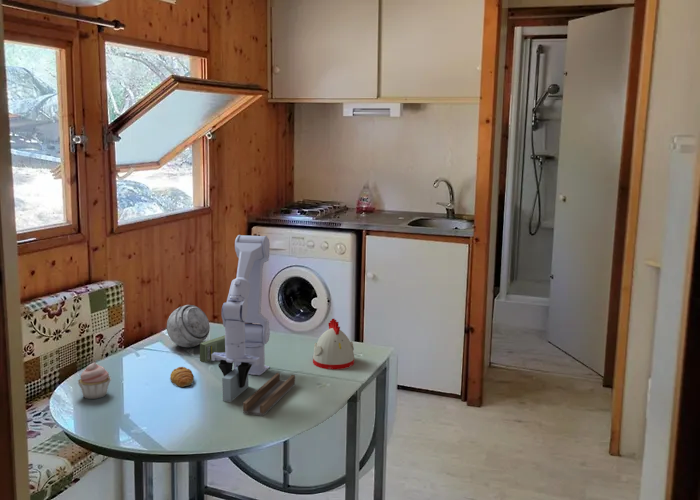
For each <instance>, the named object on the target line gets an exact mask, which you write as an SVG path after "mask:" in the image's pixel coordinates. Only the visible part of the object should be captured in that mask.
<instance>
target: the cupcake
mask: <svg viewBox="0 0 700 500" xmlns="http://www.w3.org/2000/svg"><path fill="white" fill-rule="evenodd" d="M111 381H112V378H111V375H110V374H109V372H108V371H107V369H105V367H103V366H102V365H99V364H97V363H96V362H92V363H90V364H88V365H87V366H86V368H85V369H84V370H83V371H82V372H81V374H80V379H78V380H77V384H78V386H79V387H80V390H81V392H82V396H83V397H84V398H85V399H88V400H96V399H101V398H103V397H105V396H106V395H107V393H108V389H109V385H110V383H111Z"/></svg>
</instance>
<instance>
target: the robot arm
mask: <svg viewBox="0 0 700 500" xmlns="http://www.w3.org/2000/svg"><path fill="white" fill-rule="evenodd" d="M270 247H271V246H270V238H269V237H268V236H267V235H243V234H242V235H241V234H238V235H237V236H236V238H235V240H234V251H235V253H236V257H237V258H238V261H237V270H236V278H234V279H232V280H231V283H230V286H229V291H228V295H227V298H226V302H223V304H222V307H221V319H222V325H223V327H224V335H225V353H217V352H214V353H213V354H211V358H212V360H211V361H214V362H215V361H218V362H219V363H218V364H217V366H218V368H219V369H220V371H221V373H222V375H223V377H224V376H226V375H227V374H228V373H230V372H231V371H232V370H234V369H235V368H236V367H238V371H239V385H240V388H243V387H244V386H245V382H246V378H247V375H248V376H249V375H252V376H261V375H262V374H263V373H265V372H266V371H268V369H270V366H269V365H266V364H265V361H266V360H265V359H266V357H265V355H266V354H265V352H266V351H265V345H266V344H267V343H268V342H269V341H270V337H271V335H270V334H271V330H270V320H269V319H268V318H267V317H266V316H264V314H262V295H263V294H262V290H263V289H262V288H263V273H264V272H263V271H264V270H263V269H264V264H265V263H266V262H269V260H270V259H269V258H270ZM240 364H241V365H240Z"/></svg>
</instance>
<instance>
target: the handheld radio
mask: <svg viewBox="0 0 700 500" xmlns="http://www.w3.org/2000/svg"><path fill="white" fill-rule="evenodd" d="M214 352H217V353H225V334H224V335H221V336H218V337H215V338H212V339H209V340H206V341H203V342H202V343H200V344H199V362H200V361H201V363H207V362H209V361H212V358H211V354H213V353H214Z"/></svg>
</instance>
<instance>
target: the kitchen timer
mask: <svg viewBox="0 0 700 500" xmlns="http://www.w3.org/2000/svg"><path fill="white" fill-rule="evenodd" d="M327 324H328V329H327V330H326V331H324V332H323V333H322V334H321V335H320V336H319V338H318V339H317V341H316V342H314V347H313V356H312V364H313V365H314V366H315V367H317V368H320V369H324V370H325V369H326V370H343V369H346V368H347V369H348V368H350V367H352V366H353V365H354V364H355V353H354V350H355V349H354V342H353V341H350V338H349V337H348V336H347V335H346V334H345V332H344V331H343V330H341V326H339V321H337V319H335V318H331V320H329V322H328V323H327Z"/></svg>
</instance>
